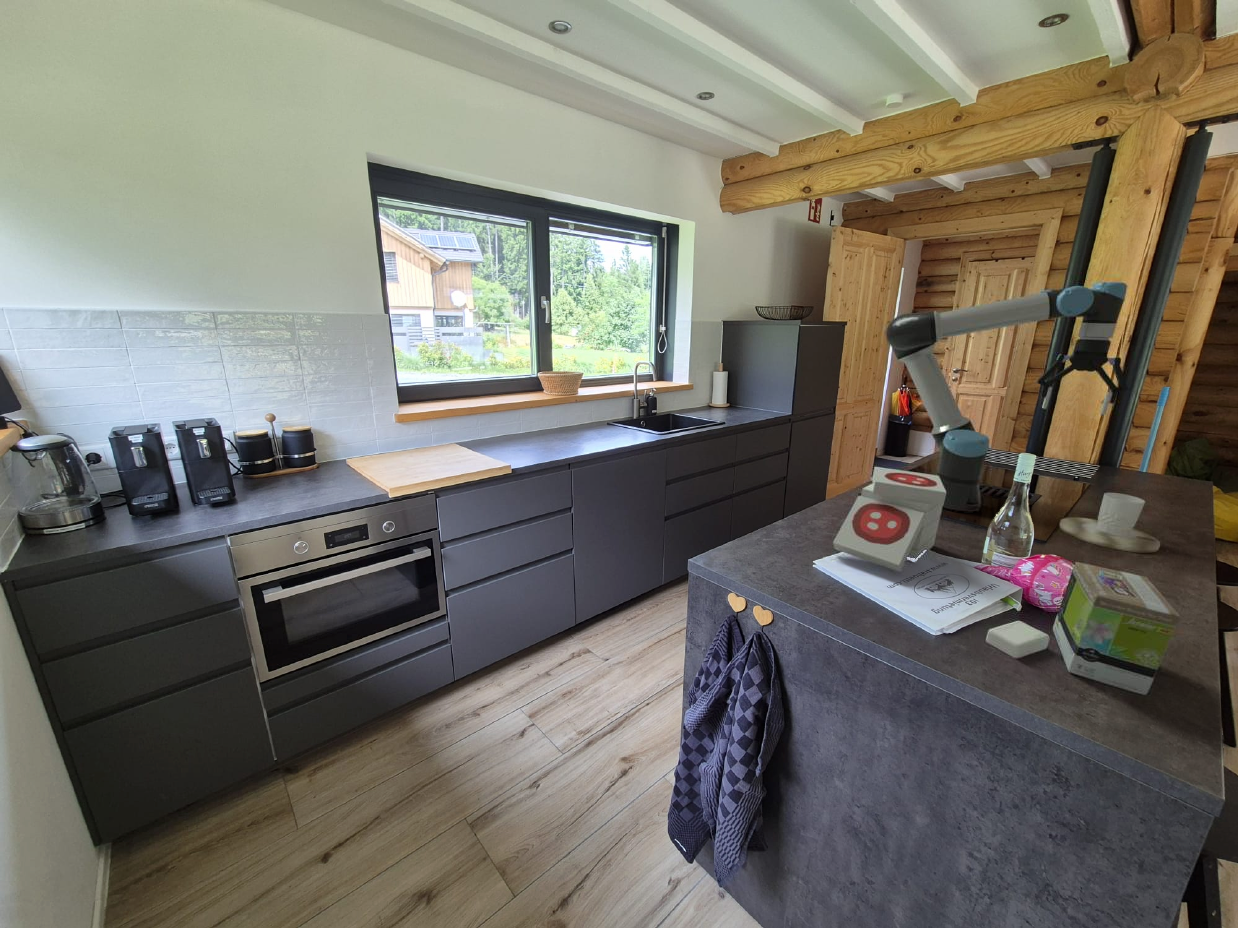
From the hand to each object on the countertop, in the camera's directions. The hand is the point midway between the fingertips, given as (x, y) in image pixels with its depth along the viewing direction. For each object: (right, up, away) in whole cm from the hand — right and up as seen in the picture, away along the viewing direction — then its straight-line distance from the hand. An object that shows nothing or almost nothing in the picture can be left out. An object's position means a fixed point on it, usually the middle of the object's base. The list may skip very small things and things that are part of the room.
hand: (1072, 411), depth 151 cm
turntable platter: (-3, -36, -14) cm, 39 cm away
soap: (-66, -49, -61) cm, 102 cm away
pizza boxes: (-70, -38, -25) cm, 83 cm away
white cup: (-3, -35, -15) cm, 38 cm away
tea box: (-55, -50, -64) cm, 98 cm away
